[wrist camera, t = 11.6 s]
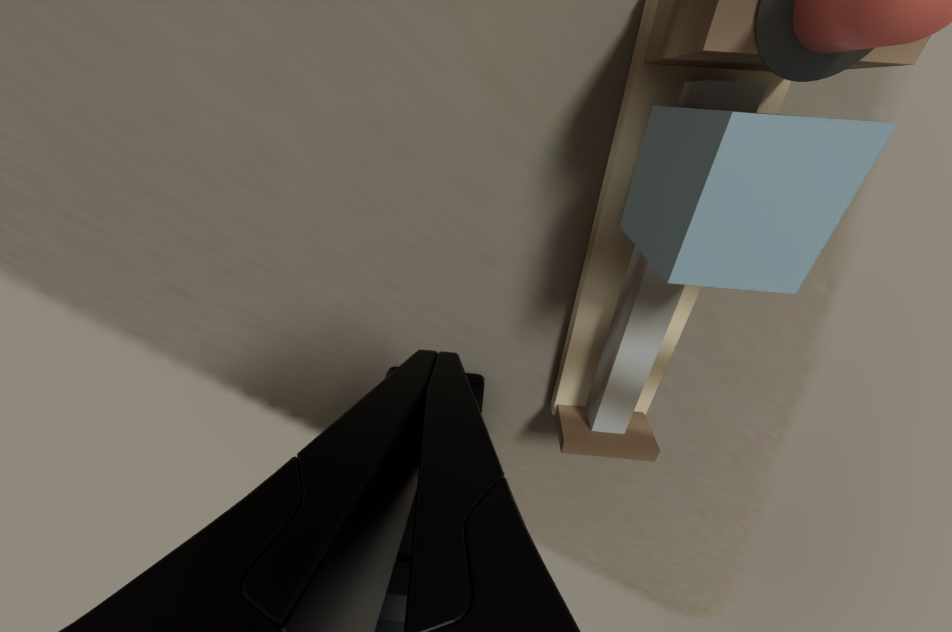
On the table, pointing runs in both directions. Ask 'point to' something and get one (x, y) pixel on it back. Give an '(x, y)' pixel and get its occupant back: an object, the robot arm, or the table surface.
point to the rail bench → (609, 249)
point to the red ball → (867, 22)
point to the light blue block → (744, 193)
